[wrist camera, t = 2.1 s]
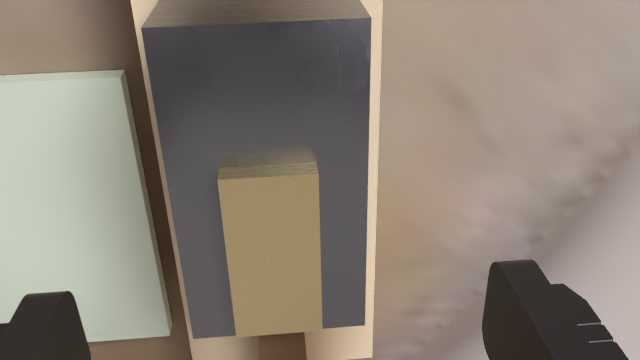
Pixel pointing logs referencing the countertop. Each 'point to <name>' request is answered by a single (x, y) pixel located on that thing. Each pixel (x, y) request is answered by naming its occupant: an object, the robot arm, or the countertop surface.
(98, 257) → the mat
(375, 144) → the body
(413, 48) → the countertop surface
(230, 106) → the dark gray block
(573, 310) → the robot arm
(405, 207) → the countertop surface
